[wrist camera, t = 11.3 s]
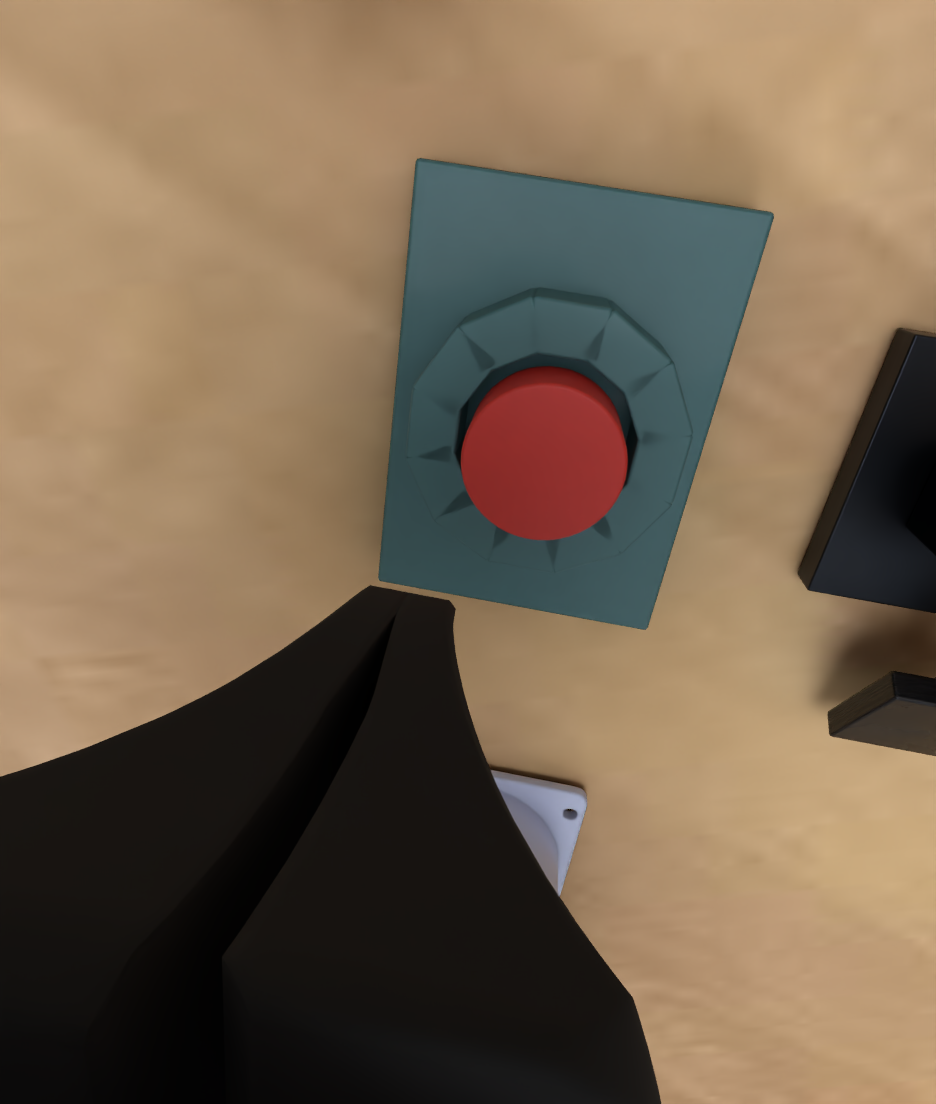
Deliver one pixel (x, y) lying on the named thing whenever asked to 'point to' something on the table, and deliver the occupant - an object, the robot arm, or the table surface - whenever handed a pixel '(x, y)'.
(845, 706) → the lever
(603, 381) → the button block
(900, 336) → the bracket
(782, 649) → the table surface
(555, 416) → the button
